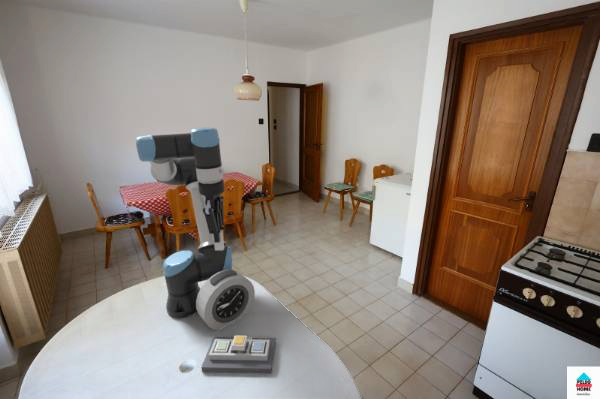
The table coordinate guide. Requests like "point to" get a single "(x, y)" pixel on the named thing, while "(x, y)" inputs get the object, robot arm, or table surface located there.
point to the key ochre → (239, 342)
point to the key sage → (222, 347)
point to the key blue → (258, 348)
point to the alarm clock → (224, 298)
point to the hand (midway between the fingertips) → (219, 249)
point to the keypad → (240, 357)
